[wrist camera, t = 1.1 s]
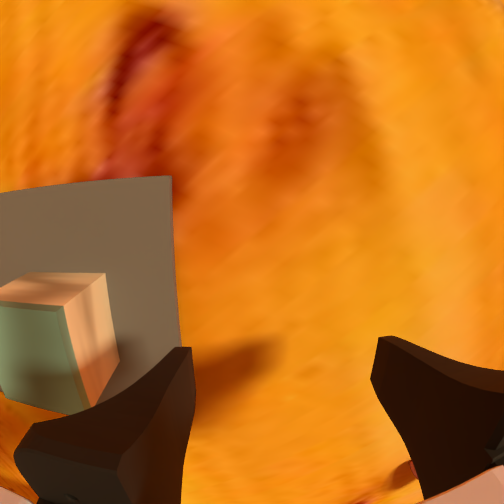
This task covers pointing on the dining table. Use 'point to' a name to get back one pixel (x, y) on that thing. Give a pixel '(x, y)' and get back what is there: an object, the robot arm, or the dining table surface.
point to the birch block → (56, 340)
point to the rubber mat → (104, 257)
